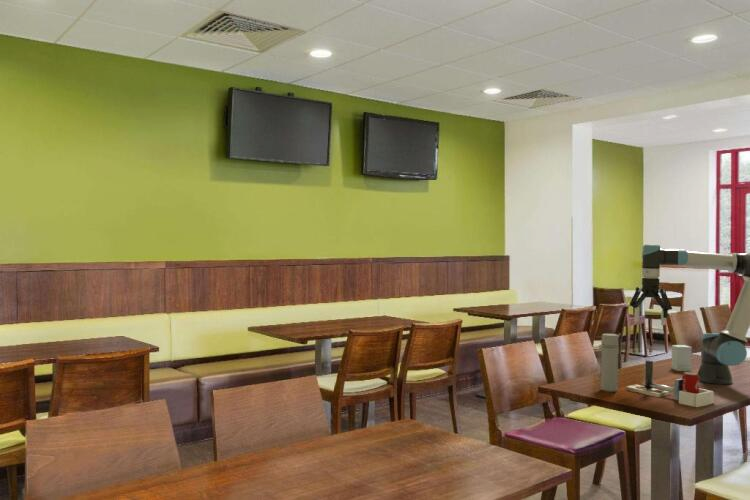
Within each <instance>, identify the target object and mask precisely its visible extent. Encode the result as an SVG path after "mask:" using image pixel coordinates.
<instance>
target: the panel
mask: <svg viewBox="0 0 750 500" xmlns="http://www.w3.org/2000/svg"><path fill="white" fill-rule="evenodd" d="M625 391H629V392H633V393H637V392H638V393H639V394H641V395H642V394H643V395H647V396H651V397H656V398H662V397H665V396H669V395H670V392H668V391H663V390H659V389H654V388H652V389H646V388H645V386H643V385H639V384H632V385H628V386H625Z"/></svg>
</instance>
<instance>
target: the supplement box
mask: <svg viewBox="0 0 750 500" xmlns="http://www.w3.org/2000/svg"><path fill="white" fill-rule="evenodd" d="M692 351H693V350H692V346H689V345H687V344H672V345H671V367H670V368H671V369H672V370H674V371H676V372H692Z"/></svg>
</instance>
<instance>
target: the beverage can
mask: <svg viewBox="0 0 750 500" xmlns="http://www.w3.org/2000/svg"><path fill="white" fill-rule="evenodd" d="M697 374H698V372H692V371H683V374H682V377H681V378H682V391H684V392H689V393H694V394H698V393H699V388H700V381H699V376H698V375H697Z"/></svg>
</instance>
